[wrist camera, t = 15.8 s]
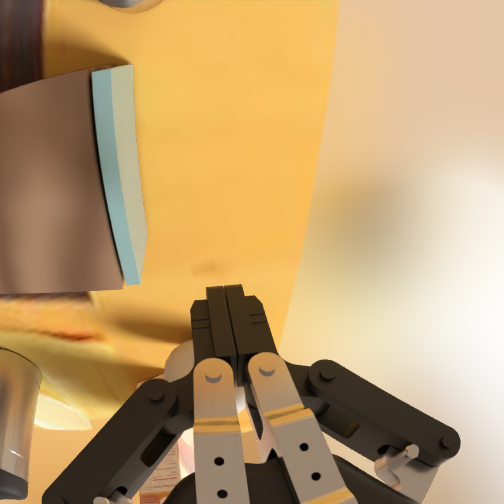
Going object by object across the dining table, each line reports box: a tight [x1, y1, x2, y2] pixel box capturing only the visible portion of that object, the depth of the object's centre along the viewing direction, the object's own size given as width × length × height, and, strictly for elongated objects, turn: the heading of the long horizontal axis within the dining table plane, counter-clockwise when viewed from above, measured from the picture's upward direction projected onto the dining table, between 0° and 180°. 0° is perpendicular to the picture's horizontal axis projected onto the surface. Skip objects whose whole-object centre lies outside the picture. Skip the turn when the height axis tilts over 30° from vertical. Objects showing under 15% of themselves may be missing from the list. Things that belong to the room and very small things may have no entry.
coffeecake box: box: [137, 374, 195, 504], centre depth 35 cm, size 15×7×20 cm, turn 26°
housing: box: [0, 64, 125, 294], centre depth 16 cm, size 17×14×6 cm
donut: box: [163, 339, 246, 413], centre depth 31 cm, size 10×4×10 cm, turn 73°
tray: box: [92, 64, 148, 285], centre depth 16 cm, size 17×14×6 cm
